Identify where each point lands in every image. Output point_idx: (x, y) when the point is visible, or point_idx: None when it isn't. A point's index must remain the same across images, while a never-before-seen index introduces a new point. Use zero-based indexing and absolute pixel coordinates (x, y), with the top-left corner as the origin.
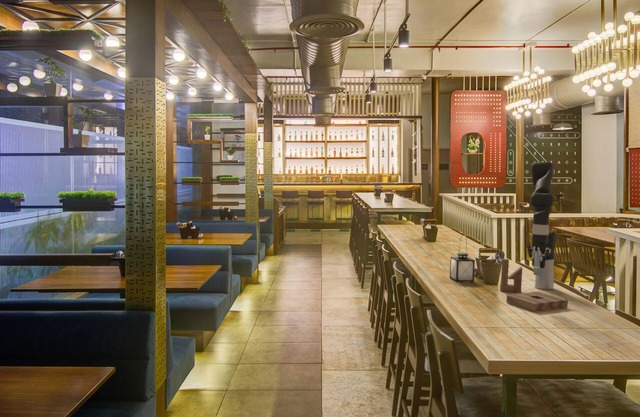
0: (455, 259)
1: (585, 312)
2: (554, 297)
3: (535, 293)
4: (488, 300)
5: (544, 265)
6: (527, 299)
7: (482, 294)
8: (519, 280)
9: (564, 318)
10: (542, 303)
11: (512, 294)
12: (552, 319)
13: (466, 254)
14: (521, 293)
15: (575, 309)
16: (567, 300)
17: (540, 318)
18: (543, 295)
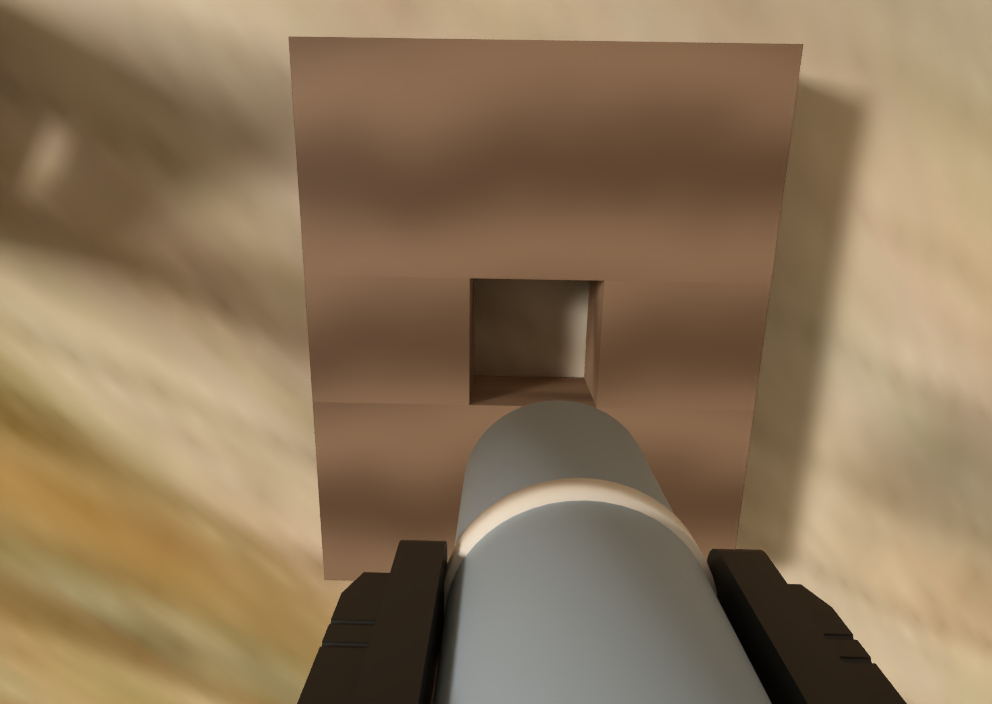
0: None
1: (979, 23)
2: (630, 118)
3: (372, 195)
4: (232, 626)
5: (844, 648)
6: None
7: (7, 527)
8: None
9: (973, 443)
10: (741, 481)
11: (329, 512)
12: (929, 563)
13: None
14: (318, 376)
15: (843, 25)
16: (799, 56)
17: (856, 629)
18: (493, 179)
